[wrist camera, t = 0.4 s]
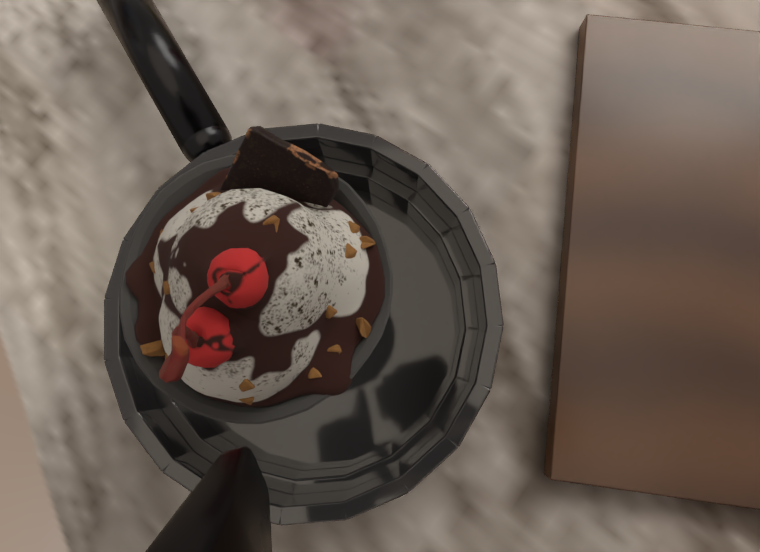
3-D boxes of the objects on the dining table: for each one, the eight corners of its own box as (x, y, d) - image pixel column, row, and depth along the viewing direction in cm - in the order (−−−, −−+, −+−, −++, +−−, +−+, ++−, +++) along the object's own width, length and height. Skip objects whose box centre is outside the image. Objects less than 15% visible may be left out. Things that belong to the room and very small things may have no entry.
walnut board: (904, 526, 21) (929, 534, 20) (543, 474, 22) (550, 479, 21) (893, 59, 25) (913, 46, 24) (579, 27, 25) (586, 13, 24)
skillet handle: (246, 160, 23) (232, 139, 21) (204, 184, 23) (186, 166, 21) (120, -57, 25) (96, -94, 23) (80, -35, 24) (52, -71, 23)
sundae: (295, 435, 22) (99, 559, 8) (207, 302, 23) (-115, 185, 9) (426, 340, 23) (480, 282, 8) (334, 214, 24) (233, -39, 9)
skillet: (553, 338, 23) (586, 331, 19) (293, 574, 22) (271, 618, 18) (336, 103, 25) (325, 53, 21) (87, 305, 24) (26, 293, 20)
